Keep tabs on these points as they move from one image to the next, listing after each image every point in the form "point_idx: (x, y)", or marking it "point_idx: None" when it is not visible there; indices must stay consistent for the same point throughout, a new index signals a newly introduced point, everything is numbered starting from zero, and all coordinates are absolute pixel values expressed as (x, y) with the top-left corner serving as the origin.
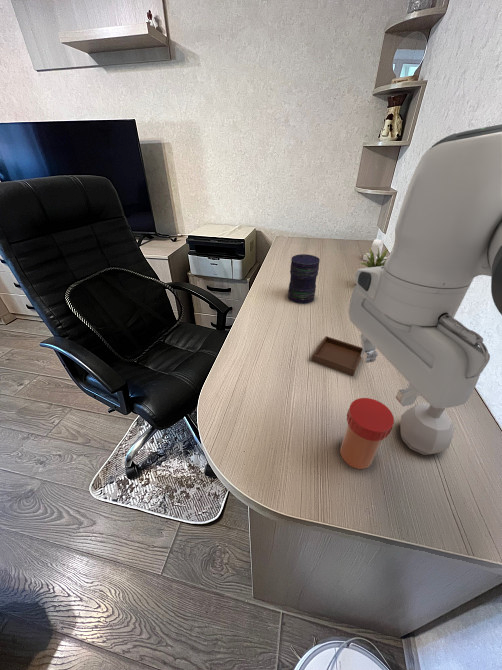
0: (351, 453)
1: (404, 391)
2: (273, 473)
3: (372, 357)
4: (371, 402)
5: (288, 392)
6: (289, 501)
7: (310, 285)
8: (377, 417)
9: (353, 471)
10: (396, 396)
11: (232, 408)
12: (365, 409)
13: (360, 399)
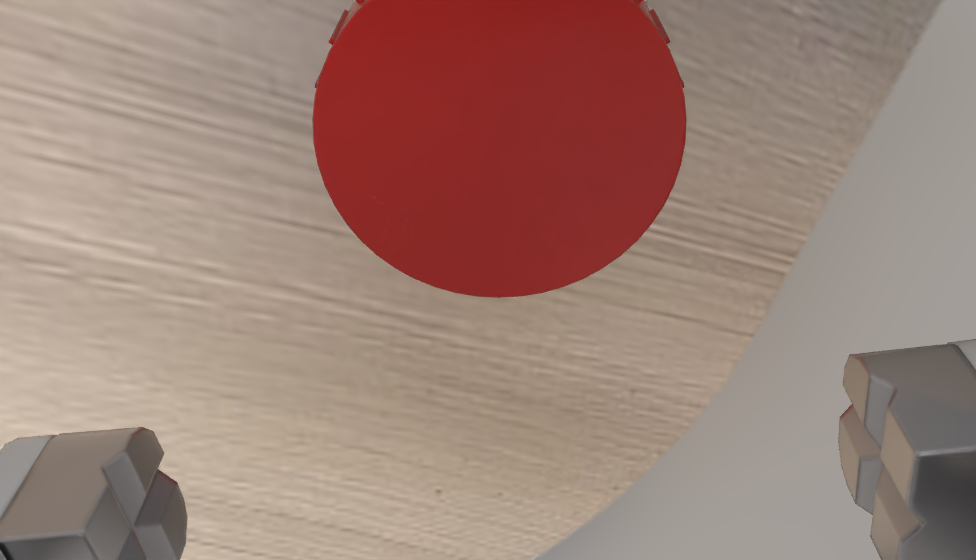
0: None
1: (947, 544)
2: (556, 401)
3: (125, 511)
4: (370, 87)
5: (27, 259)
6: (686, 363)
7: None
8: (546, 111)
9: None
10: (865, 500)
11: (196, 522)
12: (449, 171)
13: (335, 171)
